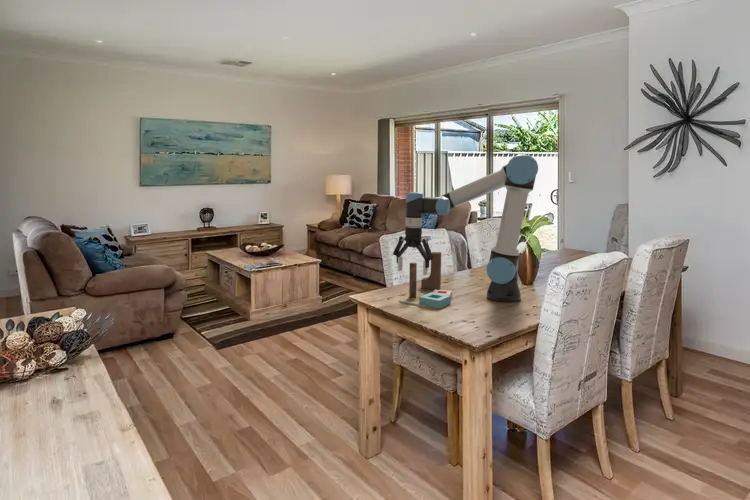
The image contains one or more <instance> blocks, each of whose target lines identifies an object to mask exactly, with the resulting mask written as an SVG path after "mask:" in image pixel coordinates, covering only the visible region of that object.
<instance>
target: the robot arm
mask: <svg viewBox="0 0 750 500" xmlns="http://www.w3.org/2000/svg"><path fill="white" fill-rule="evenodd" d="M538 171H539V165H538V162H537V160H536V159H535V158H534V157H533V156H532V155H529V154H523V153H522V154H515V155H514V156H513V157H512V158H510V159H509V161H508V162H507V164H505V165H502V166H501V169H499V170H497V171H494V172H492V173H490V174H488V175H486V176H483V177H481V178H479V179H476V180H474V181H472V182H469V183H467V184H465V185H462V186H461V187H458V188H455V189H454V190H452V191H449V192H447V193H445V194H442V195H439V196H436V197H434V196H433V197H431V196H430V197H429V196H424V194H423V192H419V191H411V192H407V193H406V197H405V198H406V199H405V220H404V221H405V222H404V223H405V224H404V225H405V227H404V229H405V230H404V235H400V236H399V238H398V241H397V244H396V246H395V248H394V250H393V252H392V255H393V256H396V264H397V271H398V272H401V271H403V256H402V255H403V254H404V253H405V251H406V250H407V249H408V248H416V249H417V251H418V252H419V253H420V255H421V256H422V258H423V259H424V260H423V262H422V264H423V267H422V276H427V275H428V270H429V268H430V262H431V260H433V259H434V258H433V255H432V249H431V247H430V245H429V240H428V237H427V238H422V235H423V231H422V230H423V227H422V226H423V215H436V216H437V215H439V216H447V215H449V214H450V211H451V210H452V209H455V208H457V207H459V206H461V205H465V204H466V203H469V202H471V201H474V200H476V199H478V198H481V197H483V196H486V195H488V194H491V193H493V192H495V191H497V190H500V189H503V188H505V189H506V194H505V200H504V205H503V210H502V213H501V218H500V224H499V228H498V233H497V238H496V245H495V246H493V247H492V248H491V251H490V256H489V258H488V263H487V265H486V274H487V277H488V278H489V279H490V283H489V284H488V287H487V291H486V298H487V299H488V300H491V301H496V302H501V303H502V302H503V303H508V302H509V303H510V302H512V303H513V302H517V301H521V297H522V295H521V290H520V287H519V283H518V279H519V278H518V276H519V257H520V252H519V249H517V248H518V244H519V239H520V233H521V229H522V225H523V220H524V216H525V211H526V206H527V203H528V202H527V201H528V196H529V193H531V192H532V191H533V190H534V187H535V182H536V177H537V174H538ZM404 242H405V243H404ZM403 244H404V245H403Z"/></svg>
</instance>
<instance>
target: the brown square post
mask: <svg viewBox="0 0 750 500" xmlns="http://www.w3.org/2000/svg"><path fill="white" fill-rule="evenodd" d="M417 266H418V264H417V262H410V263H409V287H408V289H409V290H408V291H409V293H408V295H409V297H410V299H416V298H417V280H418V279H417V271H418V270H417V269H418V268H417ZM409 297H408V298H409Z"/></svg>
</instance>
